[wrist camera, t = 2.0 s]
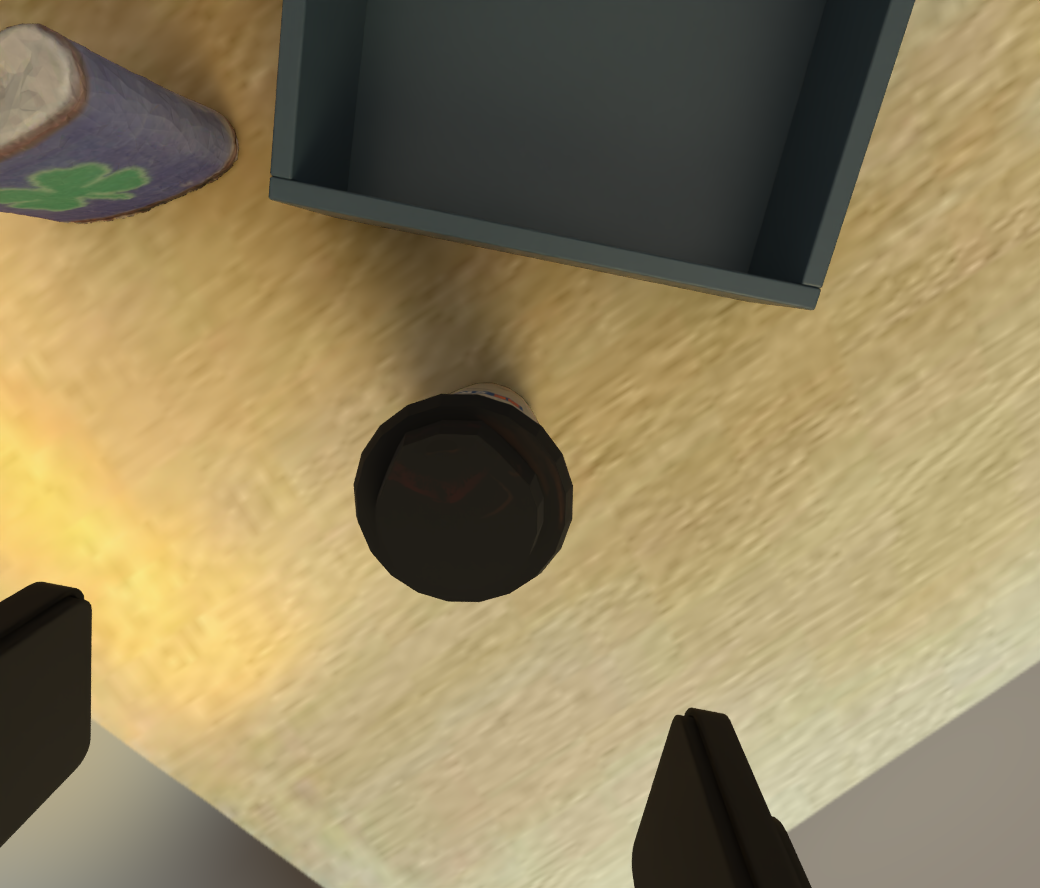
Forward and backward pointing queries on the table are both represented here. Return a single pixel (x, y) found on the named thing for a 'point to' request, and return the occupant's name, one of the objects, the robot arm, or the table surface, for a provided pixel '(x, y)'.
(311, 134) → the tub
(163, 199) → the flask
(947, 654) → the table surface
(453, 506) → the coffee cup
